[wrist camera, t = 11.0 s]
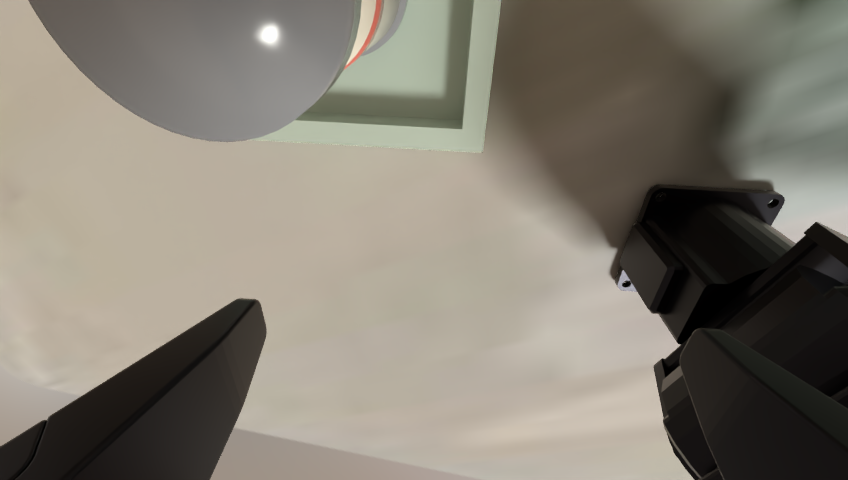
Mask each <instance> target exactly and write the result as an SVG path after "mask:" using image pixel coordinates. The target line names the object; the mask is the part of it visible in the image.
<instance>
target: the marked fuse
mask: <svg viewBox="0 0 848 480" xmlns="http://www.w3.org/2000/svg"><path fill="white" fill-rule="evenodd" d="M29 2H30V4H31V6H32V8H33V9H34V11H35V12H36V14H37V16H38V17H39V19H40V20H41V22H42V23H43V25H44V27H45V28H46V30H47V31H48V32H49V34H50V35H51V36H52V38H53V39H54V40H55V42H56V43H57V44H58V45H59V47H60V48H61V49H62V51H63V52H64V53H65V54H66V55H67V56H68V58H69V59H70V60H71V61H72V62H73V63H74V64H75V65H76V66H77V68H78V69H79V70H80V71H81V72H82V73H83V74H84V75H85V76H87V77H88V78H89V79H90V80H91V81H92V82H93V83H94V84H95V85H96V86H97V87H98V88H100V89H101V90H102V91H103V92H105V93H106V94H107V95H108V96H110V97H111V98H112V99H113V100H115V101H116V102H117V103H119V104H120V105H122V106H123V107H125V108H126V109H128V110H129V111H131V112H132V113H134V114H135V115H137V116H139V117H141V118H143V119H145V120H147V121H148V122H150V123H152V124H154V125H157V126H159V127H161V128H164V129H166V130H168V131H171V132H174V133H177V134H180V135H184V136H187V137H190V138H195V139H201V140H207V141H218V142H234V141H245V140H250V139H254V138H259V137H262V136H265V135H268V134H270V133H273V132H275V131H278V130H279V129H281V128H283V127H285V126H286V125H288V124H290V123H292V122H293V121H294V120H295V119H296V118H298V117H299V116H300V115H301V114H303V113H304V112H305V111H306V110H307V109H309V108H310V107H311V106H312V105H313V104H315V103H316V102H317V101H318V100H319V99H320V98H322V97H323V96H324V95H325V94H326V92H327V91H328V90H329V89H330V88H331V87H332V86H333V85H334V83H335V82H336V80H337V79H338V78H339V76H340V75H341V73H342V72H343V70H344V69H346V68H347V67H348V66H350V65H351V64H352V63H353V62H355V61H356V60H357V59H358V58H359V57H360V56H364V55H367V54H369V53H372V52H374V51H375V50H377V49H379V48H380V47H381V46H382V45H384V44H385V43H386V42H387V41H388V40H389V39H390V38H391V37H392V36H393V35H394V34H395V32H396V31H397V29H398V28H399V26H400V24H401V22H402V20H403V17H404V15H405V11H406V7H407V2H408V0H29Z"/></svg>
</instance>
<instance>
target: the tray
mask: <svg viewBox="0 0 848 480" xmlns="http://www.w3.org/2000/svg"><path fill="white" fill-rule="evenodd" d="M500 7H501V0H408V2H407V7H406V11H405V15H404V17H403V20H402V22H401V24H400V26H399V28H398V29H397V31H396V32H395V34H394V35H393V36H392V37H391V38H390V39H389V40H388V41H387V42H386V43H385V44H384V45H382V46H381V47H380V48H379V49H377V50H375V51H374V52H372V53H369V54H367V55H364V56H360V57H359V58H358V59H357V60H356V61H355V62H353V63H352V64H351V65H350V66H348V67H347V68H346V69H344V70H343V72H342V73H341V75H340V76H339V78H338V79H337V80H336V82H335V83H334V85H333V86H332V87H331V88H330V89H329V90H328V91H327V92H326V94H325V95H324V96H323V97H322V98H320V99H319V100H318V101H317V102H316V103H315V104H313V105H312V106H311V107H310V108H309V109H307V110H306V111H305V112H304V113H303V114H301V115H300V116H299V117H298V118H296V119H295V120H294V121H293V122H292V123H290V124H288V125H286V126H285V127H283V128H281V129H279V130H278V131H275V132H273V133H270V134H268V135H265V136H262V137H259V138H254V139H250V140H259V141H277V142H295V143H313V144H331V145H349V146H367V147H385V148H403V149H421V150H439V151H457V152H475V153H483V147H484V139H485V130H486V122H487V114H488V106H489V98H490V89H491V81H492V73H493V65H494V57H495V48H496V40H497V32H498V24H499V15H500Z"/></svg>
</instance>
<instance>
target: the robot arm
mask: <svg viewBox="0 0 848 480" xmlns="http://www.w3.org/2000/svg"><path fill="white" fill-rule="evenodd" d="M662 192H663V194H662V195H661V197H659V198H656V196H657V194H659V193H662ZM771 200H773V201H772V202H771V203H769V201H771ZM784 201H785V200H784V197H783V196H782V195H780V194H779V193H777V192H775V191H764V190H746V189H729V188H711V187H693V186H676V185H656V186H654V187H652V188H651V189H650V190H649V191H648V193H647V195H646V198H645V201H644V203H643V206H642V209H641V212H640V214H639V217H638V220H637V222H636V223H635V224H634V225H633V226H632V229H631V231H630V234H629V237H628V240H627V242H626V245H625V248H624V251H623V253H622V256H621V259H620V262H619V263H620V268H619V271H618V274H617V276H616V279H615V283H616V285H617V286H618V288H619V289H620V290H623V291H635V292H638V294H639V295H640V297H641V298H642V300H643V301H644V303H645V305H646V306H647V308H648V309H649V310H650V312H651V313H653V314H659V315H660V317H661V318H662V320H663V322H664V323H665V325H666V326H667V328H668V329H669V331H670V332H671V334H672V335H673V337H674V338H675V340H676V341H677V343H678V344H681V345H680V346H679V347H678V348H677V349H676V350H675V351H674V352H672V353H671V354H670V355H669V356H668V357H667V358H666V359H661V360H660V361H659V362H657V363H656V364H655V365H654V372H655V377H656V382H657V387H658V392H659V397H660V402H661V407H662V412H663V417H664V419H663V423H664V428H665V430H666V432H667V435H668V438H669V441H670V444H671V446H672V448H673V451H674V453H675V455H676V456H677V457H678V458H679V460H680V461H681V463H682V464H683V466H684V467H685V469H686V470H687V471H688V472H689V473H690V475H691V476H692V477H693V478H694V480H848V237H847V236H845V235H843V234H841V233H839V232H836V231H834V230H832V229H830V228H828V227H826V226H824V225H822V224H820V223H818V222H815V223H814V224H813V225H812V226H811V227H810V228H809V229H807V230H806V231H805V232H804V234H806V235H805V236H804V237H803V238H802V239H801V240H800V241H799V242H797V243H796V244H795V243H794V242H793V241H791V240H790V239H788V238H787V237H786V236H784V235H783V234H781V233H780V232H779V231H777V230H776V229H774V228H773V227H772V226H771V225H772V223H773V221H774V220H775V218H776V216H777V214H778V213H779V211H780V209H781V208H782V206H783V204H784ZM768 203H769V204H768ZM627 280H628V281H627ZM624 281H627V282H626V283H623V282H624ZM265 338H266V324H265V320H264V316H263V312H262V308H261V304H260V302H259V301H258V300H256V299H243V298H241V299H237V300H235V301H233V302H231V303H230V304H228V305H227V306H225V307H223V308H222V309H220V310H219V311H217V312H215V313H214V314H212V315H211V316H209V317H207V318H206V319H204V320H203V321H201V322H199V323H198V324H196V325H195V326H193V327H191V328H190V329H188V330H187V331H185V332H183V333H182V334H180V335H179V336H177V337H175V338H174V339H172V340H171V341H169V342H167V343H166V344H164V345H163V346H161V347H159V348H158V349H156V350H155V351H153V352H151V353H150V354H148V355H147V356H145V357H143V358H142V359H140V360H139V361H137V362H135V363H134V364H132V365H131V366H129V367H127V368H126V369H124V370H123V371H121V372H119V373H118V374H116V375H115V376H113V377H111V378H110V379H108V380H107V381H105V382H103V383H102V384H100V385H99V386H97V387H95V388H94V389H92V390H91V391H89V392H87V393H86V394H84V395H83V396H81V397H79V398H78V399H76V400H75V401H73V402H71V403H70V404H68V405H67V406H65V407H64V408H62V409H60V410H59V411H57V412H55V413H54V414H52V415H51V416H50V417H48V419H47V420H43V421H41V422H39V423H38V424H36V425H34V426H33V427H31V428H30V429H28V430H26V431H25V432H23V433H22V434H20V435H19V436H17V437H15V438H14V439H12V440H10V441H9V442H7V443H5V444H4V445H2V446H0V480H210V478H211V475H212V474H213V471H214V469H215V467H216V465H217V463H218V460H219V458H220V456H221V454H222V452H223V449H224V447H225V445H226V443H227V441H228V438H229V436H230V434H231V432H232V430H233V428H234V425H235V423H236V421H237V419H238V416H239V414H240V412H241V409H242V407H243V404H244V402H245V399H246V396H247V393H248V390H249V387H250V384H251V381H252V378H253V375H254V372H255V369H256V366H257V363H258V360H259V357H260V354H261V351H262V348H263V345H264V342H265Z"/></svg>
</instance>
